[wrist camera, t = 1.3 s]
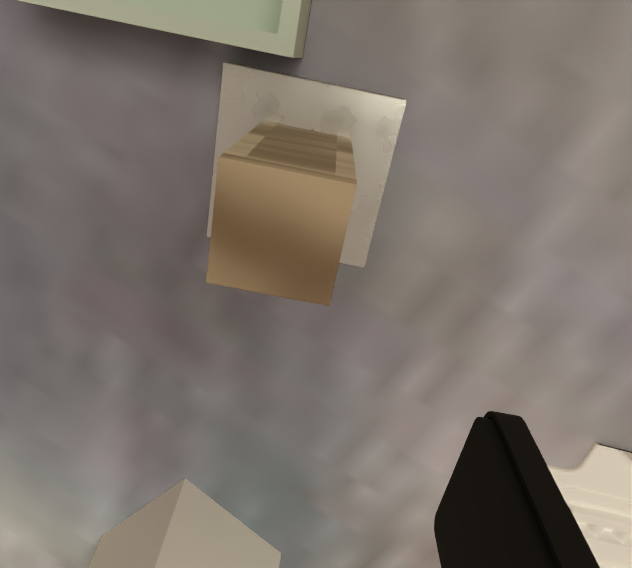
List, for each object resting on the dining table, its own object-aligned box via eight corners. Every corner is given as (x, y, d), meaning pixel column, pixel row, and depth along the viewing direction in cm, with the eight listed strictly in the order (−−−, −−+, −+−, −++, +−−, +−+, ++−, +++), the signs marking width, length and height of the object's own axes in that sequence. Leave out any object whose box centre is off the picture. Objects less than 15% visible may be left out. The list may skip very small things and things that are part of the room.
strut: (263, 120, 27) (218, 157, 17) (351, 138, 27) (356, 184, 17) (251, 206, 29) (206, 282, 19) (333, 222, 29) (329, 306, 19)
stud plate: (229, 62, 27) (198, 63, 21) (403, 98, 27) (420, 110, 21) (212, 229, 31) (182, 268, 25) (363, 258, 32) (368, 304, 26)
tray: (693, 637, 48) (718, 681, 45) (423, 568, 47) (428, 607, 44) (840, 496, 39) (885, 537, 36) (513, 407, 38) (528, 440, 35)
